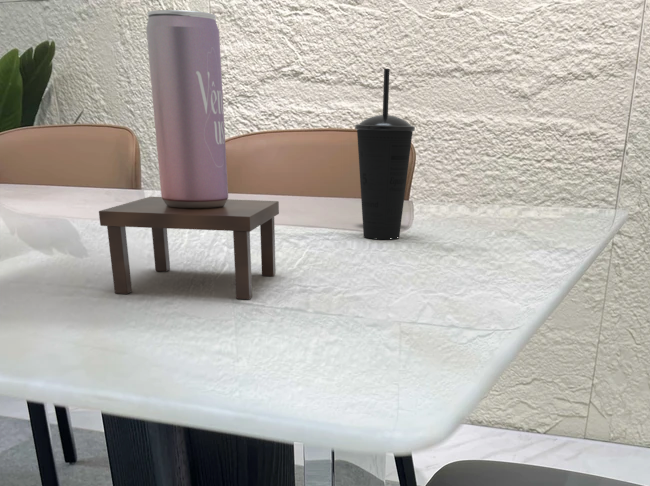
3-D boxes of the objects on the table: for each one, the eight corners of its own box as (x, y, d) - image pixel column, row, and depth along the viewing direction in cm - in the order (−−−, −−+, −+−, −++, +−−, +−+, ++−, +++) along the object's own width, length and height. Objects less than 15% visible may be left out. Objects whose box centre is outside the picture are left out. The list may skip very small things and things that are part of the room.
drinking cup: (383, 231, 109) (389, 71, 100) (421, 238, 103) (430, 69, 95) (341, 235, 104) (343, 67, 95) (378, 243, 99) (384, 66, 90)
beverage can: (193, 200, 74) (180, 19, 67) (242, 205, 71) (233, 16, 65) (148, 205, 69) (129, 11, 63) (197, 210, 67) (183, 8, 60)
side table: (108, 294, 68) (98, 211, 65) (156, 268, 80) (150, 196, 77) (252, 300, 67) (249, 216, 64) (280, 273, 79) (278, 201, 76)
